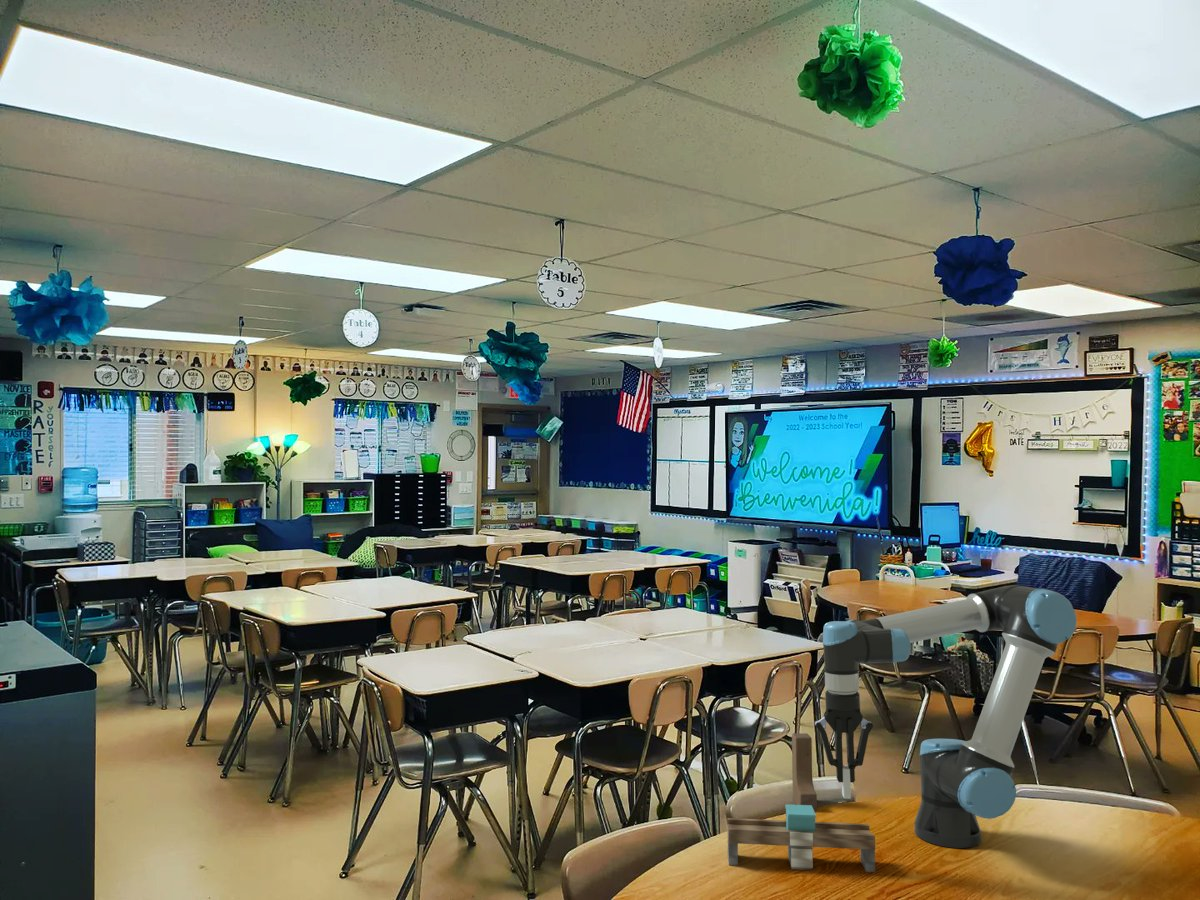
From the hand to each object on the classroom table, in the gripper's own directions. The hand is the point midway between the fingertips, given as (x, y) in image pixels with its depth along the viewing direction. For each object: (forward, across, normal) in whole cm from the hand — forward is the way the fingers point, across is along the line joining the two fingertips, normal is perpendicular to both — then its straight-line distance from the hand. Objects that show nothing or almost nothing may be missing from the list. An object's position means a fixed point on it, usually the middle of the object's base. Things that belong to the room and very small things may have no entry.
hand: (846, 796), depth 192 cm
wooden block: (+15, +5, -38) cm, 41 cm away
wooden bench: (+15, +11, 0) cm, 18 cm away
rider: (+8, +10, 0) cm, 13 cm away
